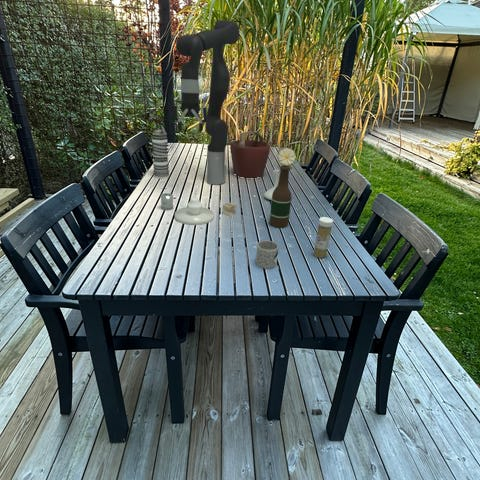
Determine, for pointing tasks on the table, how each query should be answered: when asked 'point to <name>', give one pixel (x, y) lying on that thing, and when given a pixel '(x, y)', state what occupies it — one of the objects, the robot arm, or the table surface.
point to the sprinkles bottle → (323, 237)
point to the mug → (267, 254)
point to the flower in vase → (285, 158)
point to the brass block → (229, 209)
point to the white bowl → (194, 216)
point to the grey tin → (166, 201)
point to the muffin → (194, 206)
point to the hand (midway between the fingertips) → (190, 131)
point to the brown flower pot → (249, 156)
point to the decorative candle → (160, 154)
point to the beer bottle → (281, 200)
